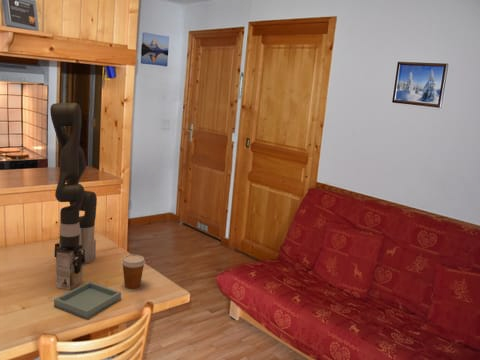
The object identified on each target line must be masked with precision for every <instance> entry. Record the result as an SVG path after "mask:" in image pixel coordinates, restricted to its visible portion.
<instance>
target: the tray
mask: <svg viewBox="0 0 480 360" xmlns="http://www.w3.org/2000/svg"><path fill="white" fill-rule="evenodd" d="M121 300H122V292H121V291H118V290H116V289H112V288H109V287H107V286H104V285H101V284H98V283H94V282H93V281H88V282H87V283H84V284H82V285H80V286H78V287H76V288H74V289H71V290H69V291H68V292H65V293H64V294H62V295H60V296H58V297H56V298H53V307H54V308H56V309H58V310H61V311H64V312H67V313H70V314H72V315H75V316H77V317H80V318H83V319H84V318H85V319H84V320H89V319H91V318H92V317H94V316H96V315H97V314H99V313H101V312H102V311H104V310H106V309H107V308H109V307H110V306H112V305H114V304H115V303H117V302H119V301H121Z"/></svg>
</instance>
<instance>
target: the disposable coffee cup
mask: <svg viewBox="0 0 480 360" xmlns="http://www.w3.org/2000/svg"><path fill="white" fill-rule="evenodd" d="M121 264H122V272H123V281H124V287H125V288H126V289H132V290H134V289H138V288H140V286H141V282H142V278H143V271H144V266H145V264H146V260H145V257H144V256H142V255H139V254H128V255H125V256H124V257H122V260H121Z"/></svg>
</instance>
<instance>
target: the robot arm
mask: <svg viewBox="0 0 480 360" xmlns="http://www.w3.org/2000/svg"><path fill="white" fill-rule="evenodd" d="M50 119H51V122H52V125H53V129H54V131H55V132H54V133H55V134H56V138H57V139H56V140H57V142H58V146H59V153H60V155H59V176H58V177H59V178H58V181H57V182H58V183H57V186H56V189H55V193H54V195H55V199H56V200H57V201H58V202H59V203H69V205H67V206H64V207H62V208H61V209H60V212H59V214H60V215H59V216H60V222H59V223H60V224H59V242H56V243H55V244H54V258H56V250H58V249H60V248H62V247H64V248H68V249H70V250H73V251H74V254H77V253H78V254H77V257H75V258H73V260H74V264H75V274H78V273H80V271H81V265H82V266H83V265H87V264H91V263H93V262H94V261H95V260H96V257H97V256H96V255H97V254H96V247H97V245H96V244H97V243H96V242H97V240H96V238H95V226H96V225H95V224H96V222H95V221H96V216H97V206H98V205H97V204H98V203H97V201H98V197H97V194H96V193H95V192H94V191H91V190H85V188H84V186H83V185H82V184H81V183H80V179H81V178H82V176H83V174H85V170H86V168H87V162H86V156H85V153H84V150H83V148H82V147H81V145H80V140H81V133H82V132H81V131H82V120H83V119H82V109H81V106H80V104H78V103H77V102H58V103H53V104H51V105H50ZM66 127H71V133H70V135H69V133H68V132H67V129H66ZM80 212H84V215H80ZM78 245H82V250H80V249H79V248H78ZM76 259H77V261H78V262H77V261H76ZM81 259H82V261H81Z"/></svg>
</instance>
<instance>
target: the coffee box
mask: <svg viewBox="0 0 480 360" xmlns="http://www.w3.org/2000/svg"><path fill="white" fill-rule="evenodd" d="M78 248H79V249H80V250H82V245H78ZM77 254H78V253H77ZM77 254H74V251H73V250H70V249H68V248H64V247H62V248H60V249H58V250H56V257H55V266H56V267H55V272H56V273H55V275H56V276H55V277H56V278H55V281H56V283H55V284H56V286H55V288H57V289H61V290H66V291H67V290H68V291H72V290H73V288H75V287H77V286H78V285H79V284H80V283H81V282H83V264H82V265H81V271H80V273H78V274H75V264H74V260H73V258H75V257H77ZM76 261H77V259H76ZM81 261H82V259H81ZM77 262H78V261H77Z"/></svg>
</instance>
